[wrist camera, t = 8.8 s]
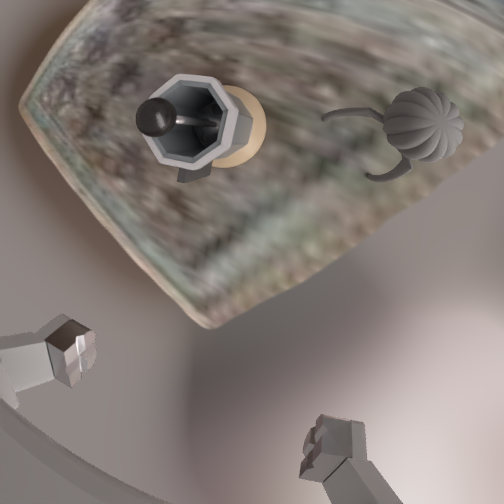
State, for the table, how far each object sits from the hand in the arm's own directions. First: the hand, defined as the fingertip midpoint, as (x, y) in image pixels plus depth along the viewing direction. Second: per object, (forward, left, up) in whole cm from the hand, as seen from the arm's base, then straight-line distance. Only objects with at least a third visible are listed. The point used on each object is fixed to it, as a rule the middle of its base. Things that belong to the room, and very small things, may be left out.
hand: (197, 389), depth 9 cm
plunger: (-8, -13, -35) cm, 38 cm away
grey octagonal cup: (-8, -13, -39) cm, 42 cm away
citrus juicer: (-12, +6, -40) cm, 42 cm away
